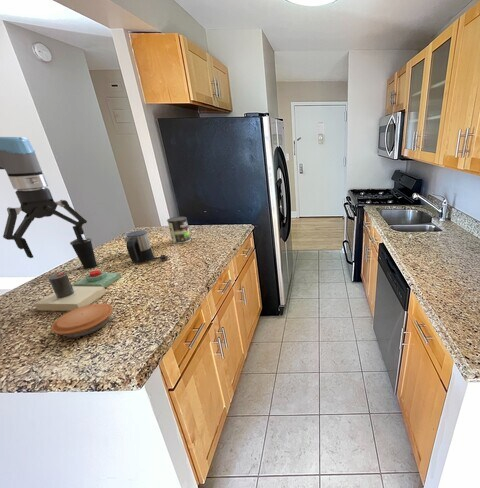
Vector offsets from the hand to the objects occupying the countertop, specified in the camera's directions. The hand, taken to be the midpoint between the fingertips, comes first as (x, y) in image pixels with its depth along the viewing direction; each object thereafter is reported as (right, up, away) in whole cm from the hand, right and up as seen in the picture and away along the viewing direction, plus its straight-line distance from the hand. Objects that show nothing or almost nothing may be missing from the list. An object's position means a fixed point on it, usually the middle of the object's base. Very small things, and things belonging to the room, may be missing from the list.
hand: (57, 249), depth 91 cm
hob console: (-4, -20, +10) cm, 23 cm away
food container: (-9, -3, +52) cm, 53 cm away
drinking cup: (-22, -9, +37) cm, 44 cm away
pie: (+14, -26, -4) cm, 29 cm away
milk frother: (+4, -7, +44) cm, 44 cm away
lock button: (-5, -12, +21) cm, 25 cm away
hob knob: (-6, -17, +9) cm, 20 cm away
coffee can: (+5, +4, +70) cm, 70 cm away
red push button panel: (-5, -15, +23) cm, 28 cm away
